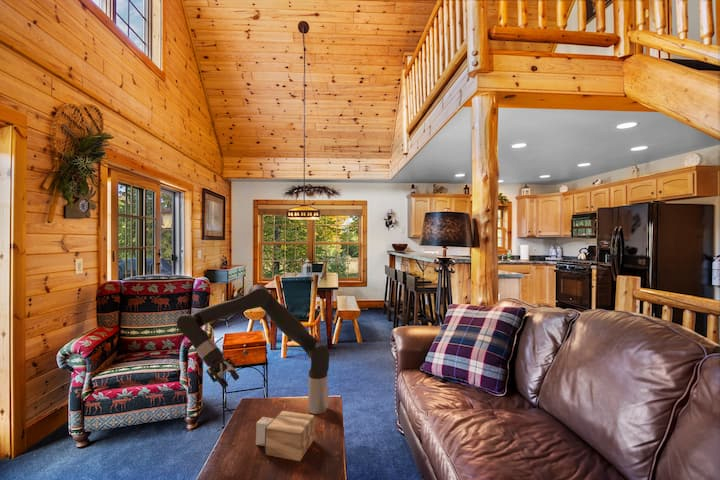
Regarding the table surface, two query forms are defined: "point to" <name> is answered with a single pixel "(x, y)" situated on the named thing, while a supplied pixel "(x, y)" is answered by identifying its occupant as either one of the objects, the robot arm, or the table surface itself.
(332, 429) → the table surface
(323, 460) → the table surface
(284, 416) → the socket block
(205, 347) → the robot arm
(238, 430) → the table surface
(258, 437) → the peg
